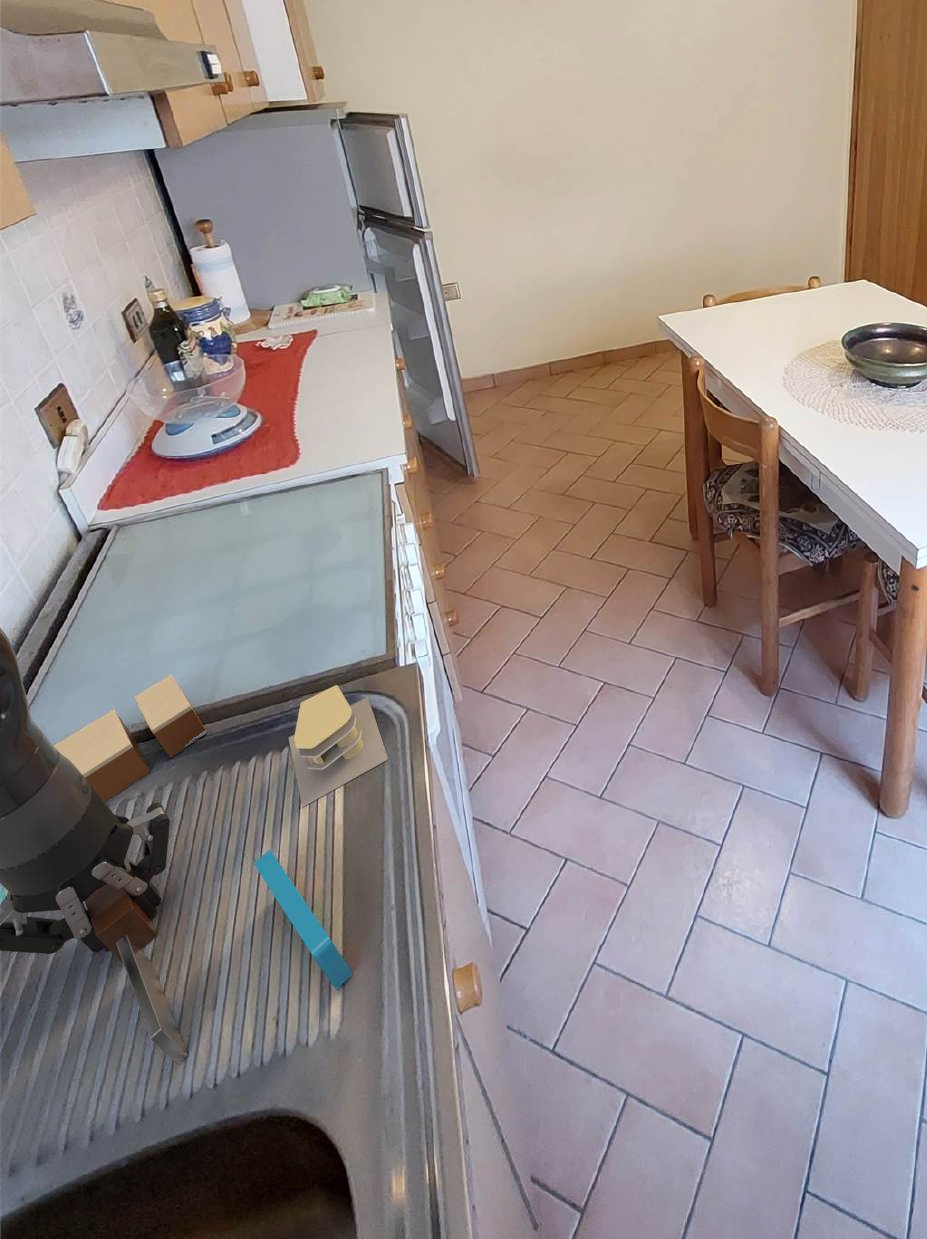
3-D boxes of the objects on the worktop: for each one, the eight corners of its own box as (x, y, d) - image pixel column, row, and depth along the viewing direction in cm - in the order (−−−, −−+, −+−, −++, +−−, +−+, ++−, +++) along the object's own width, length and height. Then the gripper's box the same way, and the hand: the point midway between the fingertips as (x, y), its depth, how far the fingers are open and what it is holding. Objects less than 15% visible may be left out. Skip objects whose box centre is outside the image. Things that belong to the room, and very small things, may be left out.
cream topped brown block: (170, 758, 82) (151, 730, 80) (152, 724, 87) (133, 696, 84) (208, 733, 85) (190, 705, 82) (188, 701, 89) (171, 673, 87)
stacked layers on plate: (288, 737, 83) (271, 706, 81) (367, 696, 87) (354, 665, 85) (302, 807, 76) (283, 775, 73) (388, 759, 80) (373, 727, 77)
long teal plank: (276, 896, 68) (252, 860, 65) (292, 882, 69) (268, 847, 66) (337, 992, 61) (313, 956, 58) (354, 975, 62) (331, 939, 59)
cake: (77, 820, 77) (53, 792, 74) (62, 781, 81) (39, 753, 78) (150, 771, 81) (130, 743, 79) (133, 736, 85) (113, 708, 83)
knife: (163, 1078, 57) (135, 1051, 55) (105, 915, 68) (79, 887, 66) (202, 1043, 59) (176, 1016, 56) (139, 889, 70) (114, 861, 67)
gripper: (120, 730, 65) (198, 838, 74) (-84, 857, 57) (30, 963, 65) (144, 780, 61) (224, 889, 69) (-75, 927, 52) (48, 1031, 60)
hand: (130, 924), depth 67 cm, fingers closed on knife, 3 cm apart
